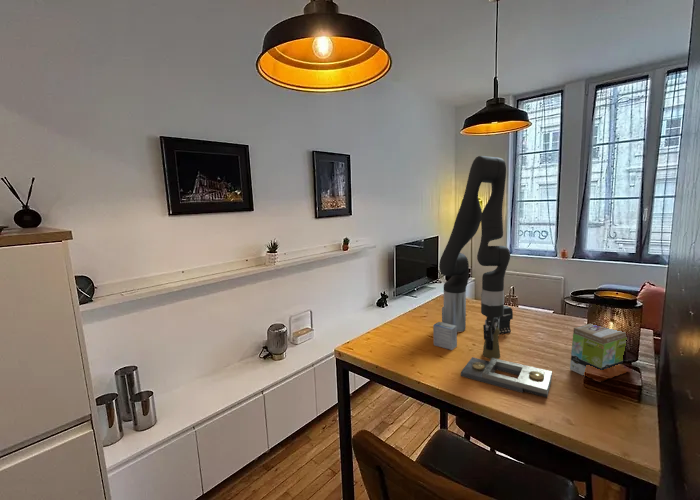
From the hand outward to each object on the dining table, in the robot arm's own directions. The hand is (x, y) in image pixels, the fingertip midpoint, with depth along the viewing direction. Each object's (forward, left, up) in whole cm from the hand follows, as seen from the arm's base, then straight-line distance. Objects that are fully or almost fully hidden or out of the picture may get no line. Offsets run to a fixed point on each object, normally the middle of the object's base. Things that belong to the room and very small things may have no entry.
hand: (491, 346), depth 126 cm
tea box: (+32, +6, -4) cm, 33 cm away
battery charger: (-1, +23, -4) cm, 23 cm away
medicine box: (-17, -1, -4) cm, 17 cm away
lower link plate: (+5, -14, -3) cm, 15 cm away
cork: (0, 0, -4) cm, 4 cm away
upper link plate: (+11, -14, -3) cm, 18 cm away
